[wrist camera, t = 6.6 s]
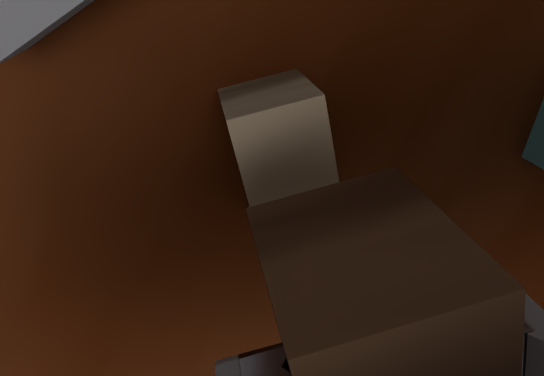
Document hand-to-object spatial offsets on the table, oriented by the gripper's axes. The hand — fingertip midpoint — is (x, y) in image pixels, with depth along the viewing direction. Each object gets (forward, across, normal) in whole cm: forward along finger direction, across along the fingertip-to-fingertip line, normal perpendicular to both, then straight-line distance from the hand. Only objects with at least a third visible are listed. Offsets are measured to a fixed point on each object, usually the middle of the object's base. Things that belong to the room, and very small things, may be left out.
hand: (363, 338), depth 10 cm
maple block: (+12, 0, 0) cm, 12 cm away
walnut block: (+2, 0, 0) cm, 2 cm away
